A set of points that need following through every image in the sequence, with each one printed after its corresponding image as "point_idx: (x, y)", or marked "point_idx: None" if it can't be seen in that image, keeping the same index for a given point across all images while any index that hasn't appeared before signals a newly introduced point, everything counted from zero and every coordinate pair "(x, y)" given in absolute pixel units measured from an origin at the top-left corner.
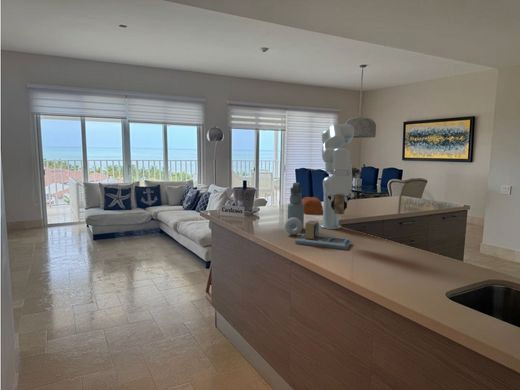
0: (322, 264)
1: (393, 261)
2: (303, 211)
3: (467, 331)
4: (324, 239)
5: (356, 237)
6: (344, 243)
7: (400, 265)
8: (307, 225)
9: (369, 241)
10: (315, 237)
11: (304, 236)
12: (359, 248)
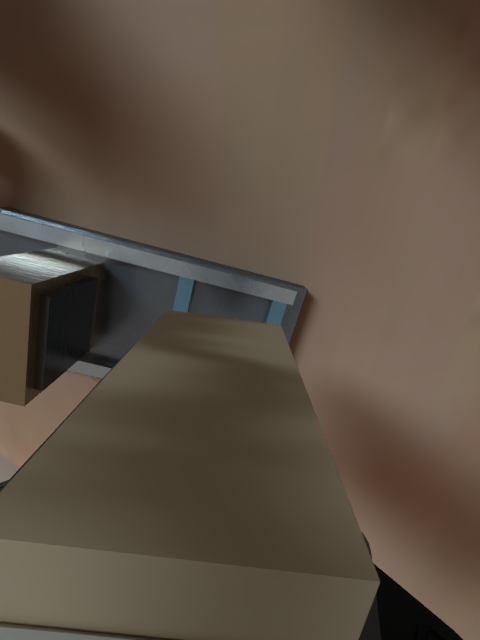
0: None
1: (425, 509)
2: None
3: None
4: (146, 290)
5: (368, 93)
6: None
7: (433, 542)
8: None
9: (429, 200)
10: (89, 346)
11: (11, 238)
12: (331, 365)
